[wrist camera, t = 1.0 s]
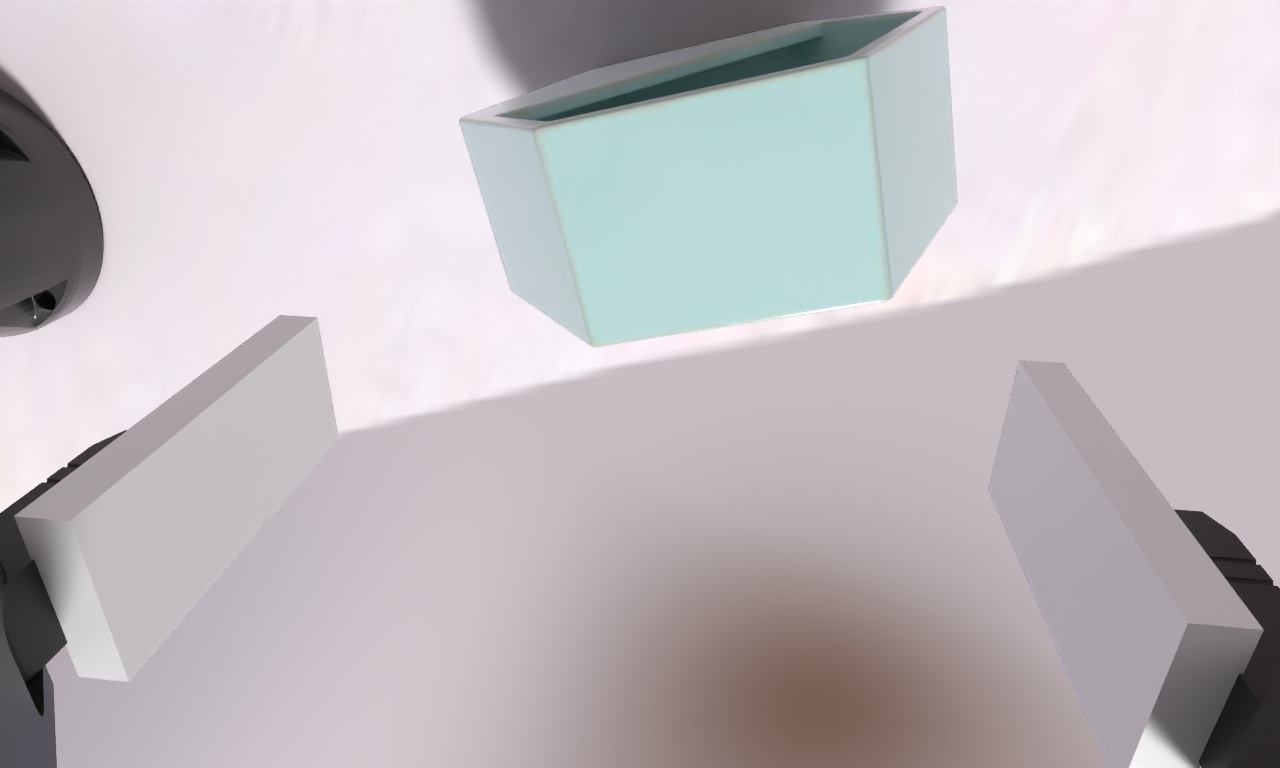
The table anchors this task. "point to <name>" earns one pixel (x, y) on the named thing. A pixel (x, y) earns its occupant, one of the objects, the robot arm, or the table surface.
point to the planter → (725, 177)
